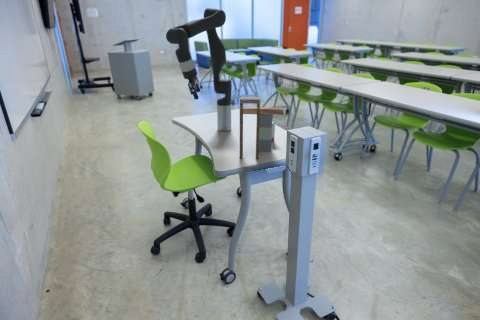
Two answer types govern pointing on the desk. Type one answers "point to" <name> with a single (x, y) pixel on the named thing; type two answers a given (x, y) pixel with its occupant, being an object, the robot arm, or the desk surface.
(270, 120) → the block tower
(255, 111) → the terracotta bar
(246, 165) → the desk surface
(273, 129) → the ink box
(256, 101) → the walnut stand
